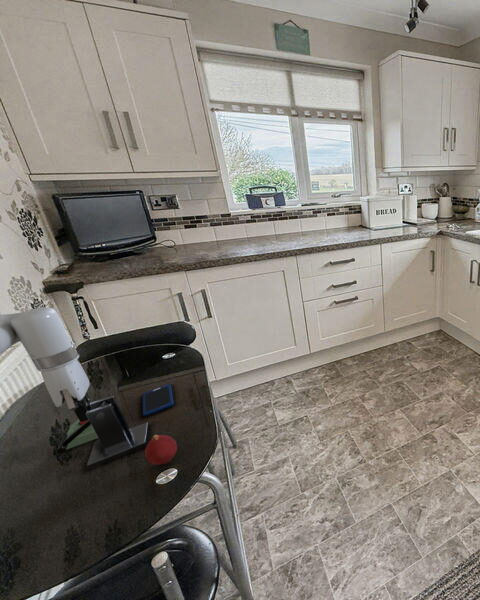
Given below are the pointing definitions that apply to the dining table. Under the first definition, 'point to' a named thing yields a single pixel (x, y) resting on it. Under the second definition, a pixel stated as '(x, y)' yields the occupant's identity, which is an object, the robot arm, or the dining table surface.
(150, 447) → the onion
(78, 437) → the button housing
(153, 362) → the dining table surface
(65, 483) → the dining table surface
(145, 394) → the cell phone
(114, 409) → the lever bracket
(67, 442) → the press lever
